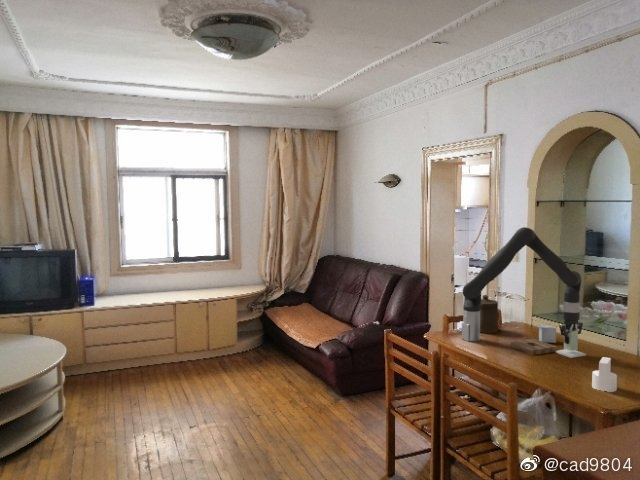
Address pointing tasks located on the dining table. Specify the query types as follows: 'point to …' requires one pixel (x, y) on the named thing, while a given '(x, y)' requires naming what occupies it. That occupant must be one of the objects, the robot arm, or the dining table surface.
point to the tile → (570, 353)
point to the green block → (572, 341)
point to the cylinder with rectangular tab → (604, 377)
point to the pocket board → (533, 346)
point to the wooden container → (488, 315)
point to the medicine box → (547, 334)
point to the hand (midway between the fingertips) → (570, 342)
